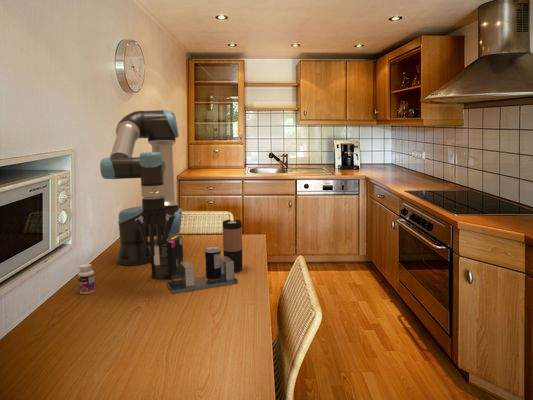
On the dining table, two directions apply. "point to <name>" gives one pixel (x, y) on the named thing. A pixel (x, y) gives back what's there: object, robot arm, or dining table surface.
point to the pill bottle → (86, 279)
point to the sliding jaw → (185, 274)
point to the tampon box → (168, 258)
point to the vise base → (203, 282)
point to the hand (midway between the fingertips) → (156, 264)
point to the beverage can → (213, 263)
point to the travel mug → (233, 242)
